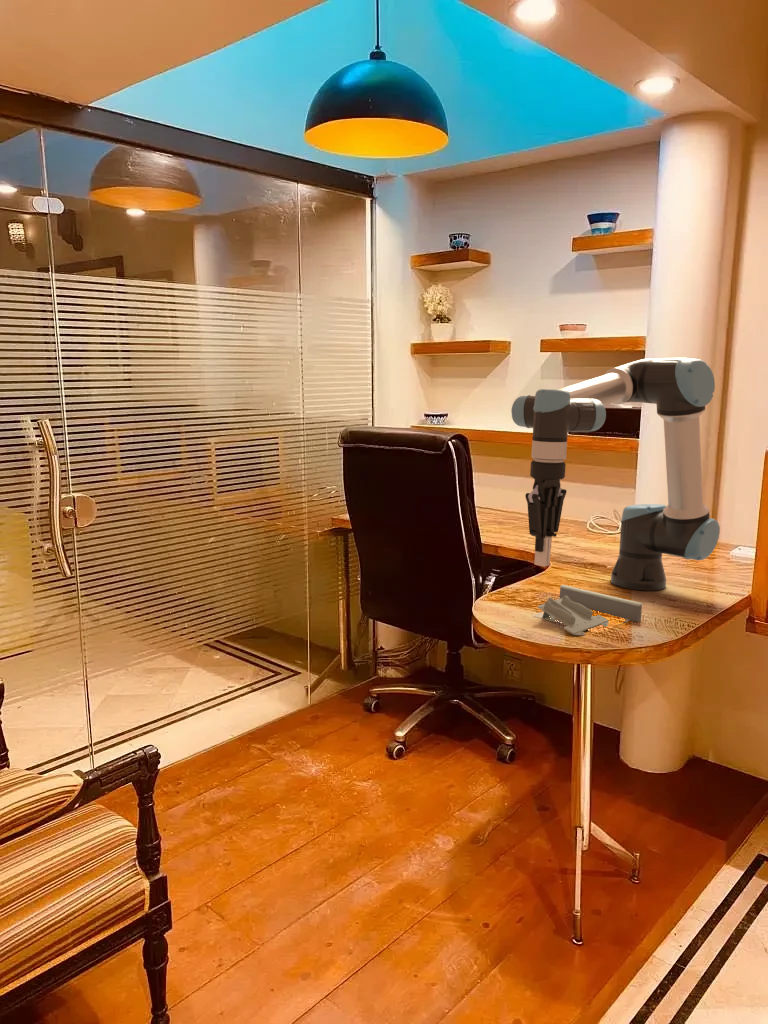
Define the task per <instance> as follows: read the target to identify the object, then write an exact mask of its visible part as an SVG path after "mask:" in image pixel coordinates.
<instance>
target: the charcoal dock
mask: <svg viewBox="0 0 768 1024" xmlns="http://www.w3.org/2000/svg"><path fill="white" fill-rule="evenodd" d="M563 596H568V597H569V599H570V600H571V601H573V602H576V603H580V604H581V605H583V606H585V607H586V608H588V609H591V610H595V611H599V612H602V613H607V614H610V615H613V616H617V617H621V618H624V619H626V620H625V621H624V622H625V623H627V622H630V621H632V622H636V623H640V622H641V621H642V611H643V605H644V604H643V603H642V602H639V601H635V600H630V599H626V598H621V597H619V596H613V595H609V594H604V593H601V592H596V591H592V590H587V589H585V588H583V589H582V588H579V587H575V586H570V585H567V584H561V585H560V586H559V599H561V598H563ZM543 613H544V612H543V611H541V612H539V613H536V614H533V615H532V617H534V616H535V617H534V618H537V617H538V618H537V619H541V618H542V617H543ZM550 618H551V619H550ZM545 619H546V621H548V620H550V621H549V622H552V621H553V623H555V622H556V621H557V619H555V618H554V617H552V616H550V617H549V616H548V617H545V618H542V620H545ZM555 620H556V621H555ZM557 622H558V621H557ZM559 623H560V621H559ZM559 623H558V624H559ZM622 623H623V622H622ZM623 624H624V623H623ZM560 625H563V623H562V624H561V623H560Z"/></svg>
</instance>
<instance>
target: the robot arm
mask: <svg viewBox="0 0 768 1024" xmlns="http://www.w3.org/2000/svg"><path fill="white" fill-rule="evenodd" d="M715 388H716V384H715V377H714V372H713V370H712V368H711V367H710V365H709V364H708V363H707V362H706V361H705V360H703V359H698V358H691V357H663V358H655V357H653V358H652V357H650V358H642V359H638V360H634V361H631V362H627V363H624V364H621V365H619V366H616V367H612V368H610V369H608V370H606V371H605V373H603V375H599V376H596V377H593V378H590V379H586V380H583V381H581V382H578V383H574V384H571V385H567V386H565V387H562V388H557V389H554V388H553V389H551V388H550V389H549V388H545V389H544V388H539V389H538V390H537V391H536V392H535V395H531V394H529V395H521V396H518V397H517V398H515V400H514V401H513V403H512V405H511V418H512V420H513V423H514V424H515V425H517V426H519V427H521V428H527V429H532V440H531V441H532V442H531V443H532V444H531V456H530V457H531V458H532V459H533V460H531V462H530V470H529V472H530V473H529V474H530V475H529V476H530V477H531V478H532V479H534V482H533V485H532V491H530V492H526V493H525V494H524V496H525V500H526V503H527V517H528V530H529V535H530V536H533V537H535V542H534V561H533V562H534V563H533V564H534V565H536V566H539V567H544V568H546V567H548V566H551V551H552V550H551V549H552V540H553V538H552V537H555V538H556V537H557V534H558V532H559V527H560V523H561V518H562V517H561V516H562V512H563V506H564V501H565V497H566V494H567V489H564V488H561V481H560V480H564V478H565V477H566V467H567V465H566V463H565V460H566V459H567V452H568V451H567V449H568V435H569V434H568V433H590V432H595V431H597V430H600V428H602V427H603V425H604V424H605V421H606V418H607V411H606V408H605V407H606V406H607V405H610V404H613V405H623V404H625V403H641V404H653V405H656V415H658V416H659V417H660V418H661V419H662V420H663V429H664V430H663V432H664V433H663V434H664V446H665V448H664V449H665V451H664V452H665V467H666V468H665V471H666V483H667V502H668V503H667V504H668V505H665V504H661V503H657V504H656V503H647V504H646V503H644V504H643V503H642V504H632V505H627V506H626V507H624V508H623V510H622V515H621V519H620V523H621V525H620V526H621V527H620V535H619V536H620V539H619V549H618V551H619V552H618V557H617V559H616V563H615V564H614V567H613V568H612V572H611V574H610V583H612V584H613V585H615V586H616V587H620V588H625V589H628V590H635V591H645V592H646V591H648V592H649V591H660V590H664V589H665V588H666V586H667V576H666V573H665V568H664V564H663V560H662V559H663V554H664V555H669V556H673V557H679V558H682V559H685V560H692V561H693V560H694V561H704V560H706V559H707V558H708V557H709V556H711V555H712V553H713V552H714V550H715V548H716V546H717V544H718V542H719V539H720V538H719V537H720V533H721V531H720V529H721V528H720V524H719V522H718V520H716V519H714V517H713V518H712V517H711V515H710V508H709V507H708V505H706V504H705V503H704V501H703V499H704V498H703V495H704V494H703V477H702V476H703V475H702V472H703V471H702V452H701V451H702V449H701V429H700V428H701V425H700V416H702V414H703V413H704V412H705V411H706V406H708V405H709V403H710V402H711V401H712V399H713V398H714V392H715Z"/></svg>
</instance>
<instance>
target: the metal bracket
mask: <svg viewBox="0 0 768 1024" xmlns="http://www.w3.org/2000/svg"><path fill="white" fill-rule="evenodd" d="M537 608H538V609H539V610H541V611H542V612H544V614H543V617H542V618H545V617H548V616H552V617H554V618H555V619H557V620H558V621H560V622H562V623H563V624H565V625H564V627H563V630H565V631H566V632H568V633H569V634H571V635H573V636H585V635H586V633H585V632H587V631H586V630H588V629H591V628H594V627H596V626H599V625H603V626H604V627H606V626H608V623H609V621H608V620H607V619H606V618H604V617H602V616H601V615H597V616H592V614H593V612H592V611H591V610H590V609H588V608H586V607H585V606H583V605H581V604H580V603H576V602H573V601H571V600H570V599H569V597H568V596H563V598H561V599H560V598H558V599H555V600H554V599H553V598H551V596H549V597H548V599H547V601H545V603H543V604H539V605H537ZM563 624H562V625H563Z"/></svg>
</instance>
